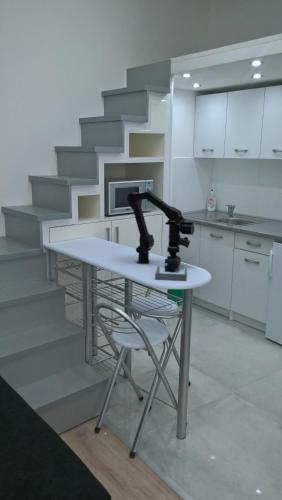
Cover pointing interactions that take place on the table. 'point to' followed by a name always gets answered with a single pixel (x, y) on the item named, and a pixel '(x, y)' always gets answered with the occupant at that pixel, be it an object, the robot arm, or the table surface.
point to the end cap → (172, 263)
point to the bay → (170, 275)
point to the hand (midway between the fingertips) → (173, 261)
